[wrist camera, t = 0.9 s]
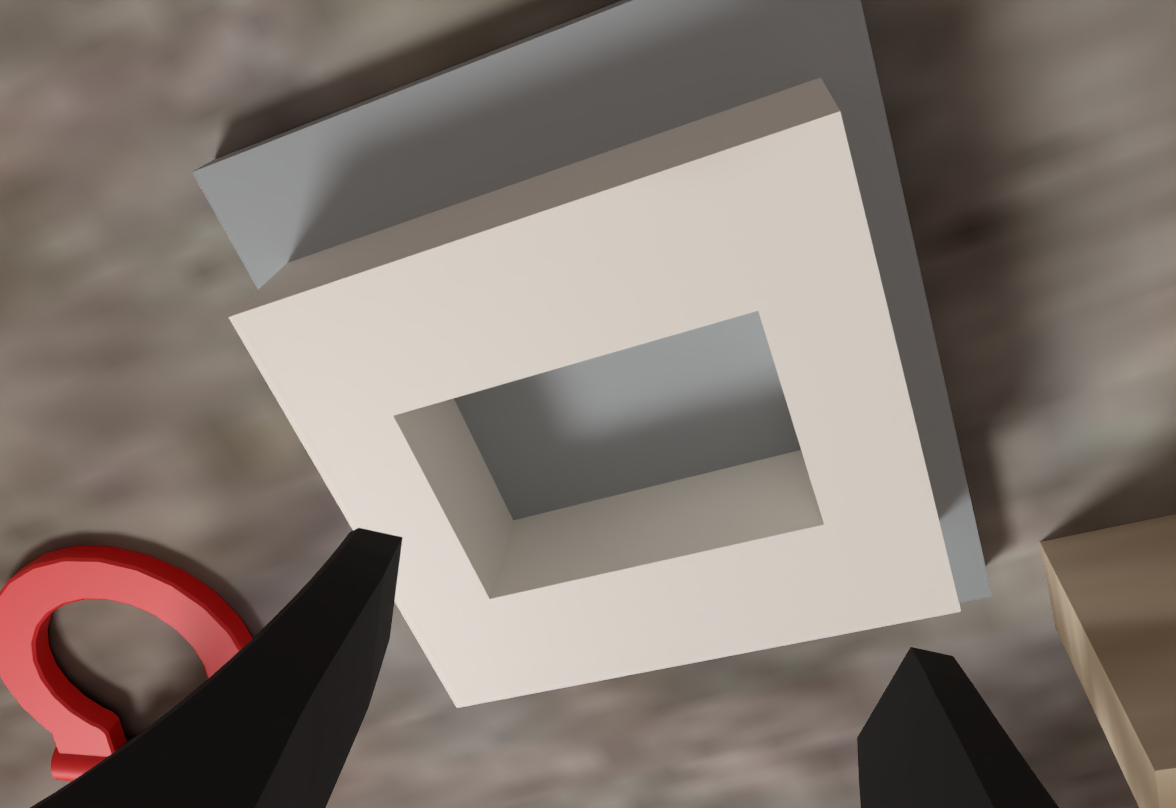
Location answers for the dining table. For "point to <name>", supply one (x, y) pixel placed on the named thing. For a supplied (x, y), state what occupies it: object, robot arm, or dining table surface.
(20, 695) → the tow hook
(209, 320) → the dining table surface
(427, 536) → the slotted block
